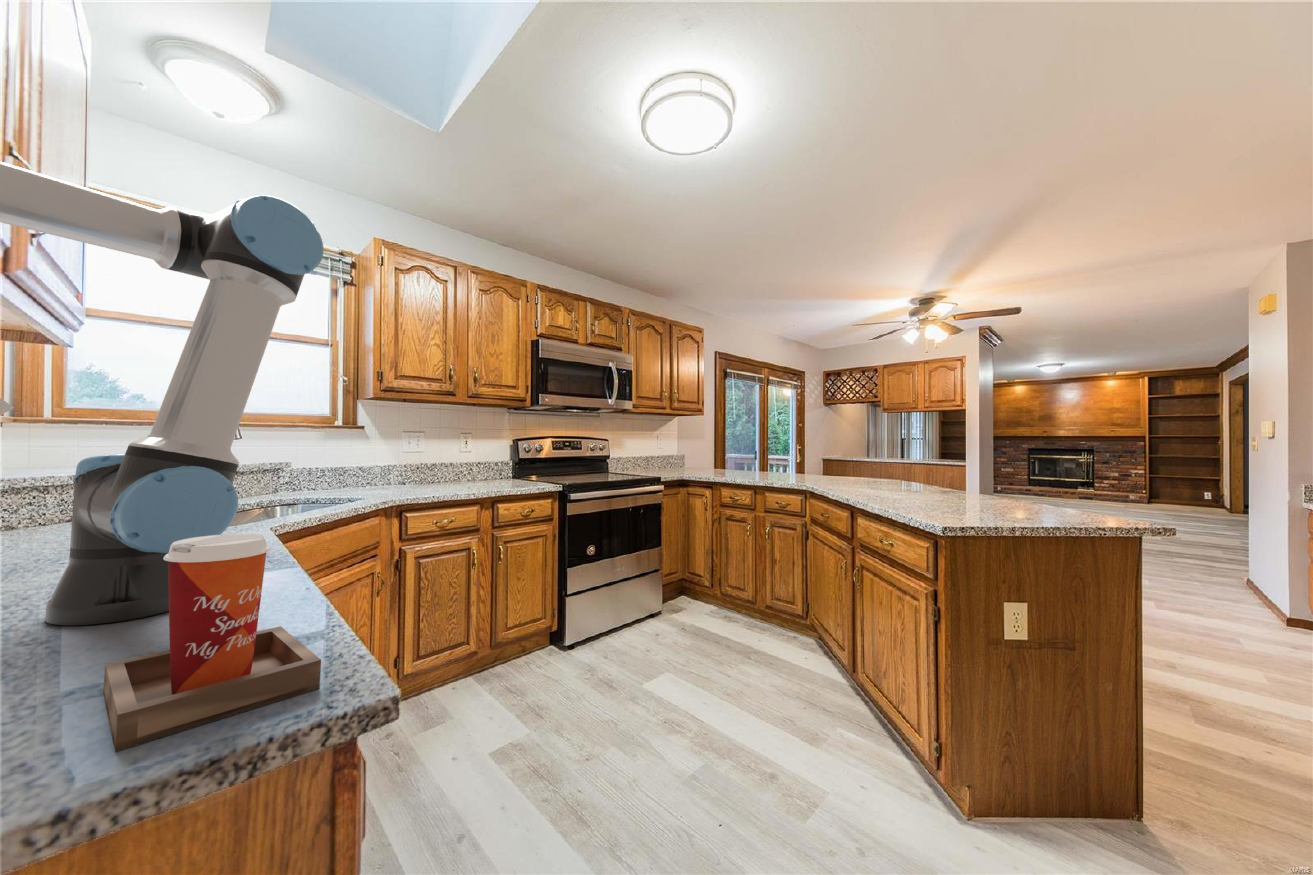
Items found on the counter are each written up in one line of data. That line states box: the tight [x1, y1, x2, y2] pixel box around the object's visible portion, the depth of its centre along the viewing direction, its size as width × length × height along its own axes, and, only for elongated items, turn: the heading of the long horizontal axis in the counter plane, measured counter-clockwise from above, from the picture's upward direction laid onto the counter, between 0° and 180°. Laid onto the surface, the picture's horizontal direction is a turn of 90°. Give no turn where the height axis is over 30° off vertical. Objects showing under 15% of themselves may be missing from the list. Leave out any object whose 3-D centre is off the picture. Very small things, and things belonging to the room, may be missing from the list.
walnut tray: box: [102, 626, 322, 752], centre depth 50 cm, size 14×14×3 cm
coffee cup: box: [163, 533, 272, 695], centre depth 50 cm, size 8×8×15 cm
